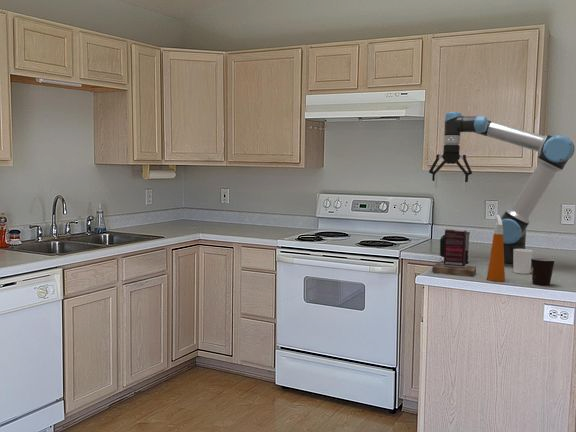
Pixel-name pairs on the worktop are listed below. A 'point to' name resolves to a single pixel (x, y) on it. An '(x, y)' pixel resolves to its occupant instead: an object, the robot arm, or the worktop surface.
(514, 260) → the white cup
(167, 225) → the worktop surface
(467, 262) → the black pitcher
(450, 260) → the supplement box
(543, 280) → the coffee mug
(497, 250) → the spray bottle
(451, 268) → the walnut board
